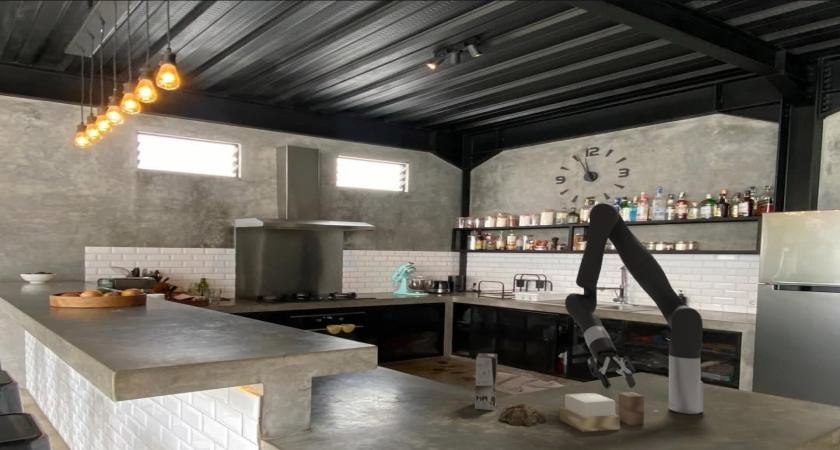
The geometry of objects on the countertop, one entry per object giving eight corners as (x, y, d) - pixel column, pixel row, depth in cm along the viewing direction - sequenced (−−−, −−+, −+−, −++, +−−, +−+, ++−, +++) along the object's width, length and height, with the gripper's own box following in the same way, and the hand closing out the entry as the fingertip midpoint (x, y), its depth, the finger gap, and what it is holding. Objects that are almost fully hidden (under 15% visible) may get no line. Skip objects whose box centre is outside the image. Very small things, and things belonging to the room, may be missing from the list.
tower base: (595, 418, 171) (595, 405, 171) (619, 430, 159) (619, 416, 160) (559, 421, 168) (559, 407, 168) (582, 433, 156) (582, 418, 156)
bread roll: (516, 412, 175) (516, 396, 175) (551, 421, 166) (551, 404, 166) (490, 420, 166) (490, 402, 166) (525, 430, 157) (526, 411, 157)
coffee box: (495, 410, 175) (496, 357, 176) (474, 409, 176) (475, 356, 177) (497, 403, 184) (498, 353, 185) (477, 402, 185) (478, 352, 186)
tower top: (594, 406, 170) (594, 392, 170) (615, 415, 160) (615, 400, 161) (565, 408, 167) (565, 394, 167) (584, 417, 157) (585, 402, 158)
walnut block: (632, 419, 170) (633, 392, 171) (643, 423, 166) (644, 396, 166) (618, 420, 169) (618, 392, 170) (629, 424, 164) (629, 396, 165)
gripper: (584, 336, 180) (605, 380, 168) (623, 336, 184) (646, 379, 172) (575, 350, 185) (595, 394, 173) (613, 350, 189) (635, 393, 177)
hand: (620, 387), depth 172 cm, fingers open, 8 cm apart
